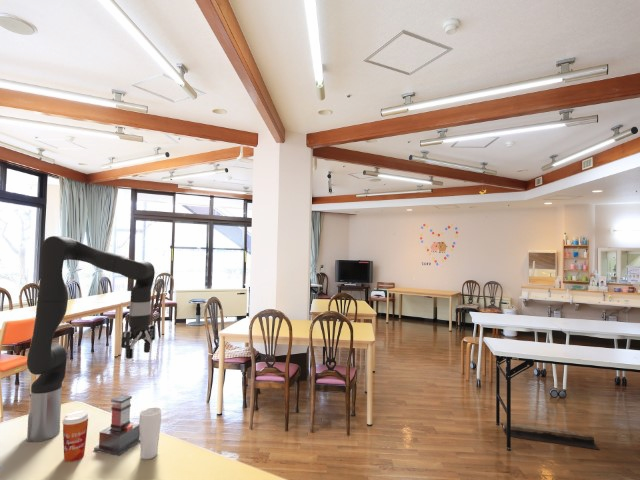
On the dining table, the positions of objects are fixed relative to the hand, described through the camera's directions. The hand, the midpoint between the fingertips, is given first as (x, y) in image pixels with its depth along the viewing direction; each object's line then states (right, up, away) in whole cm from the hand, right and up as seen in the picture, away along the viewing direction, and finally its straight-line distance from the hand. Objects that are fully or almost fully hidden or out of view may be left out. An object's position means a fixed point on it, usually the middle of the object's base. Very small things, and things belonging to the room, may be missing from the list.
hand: (138, 355), depth 134 cm
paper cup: (-13, -29, -17) cm, 36 cm away
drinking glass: (+11, -30, -15) cm, 35 cm away
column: (-2, -30, -9) cm, 31 cm away
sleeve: (-2, -30, -9) cm, 31 cm away
